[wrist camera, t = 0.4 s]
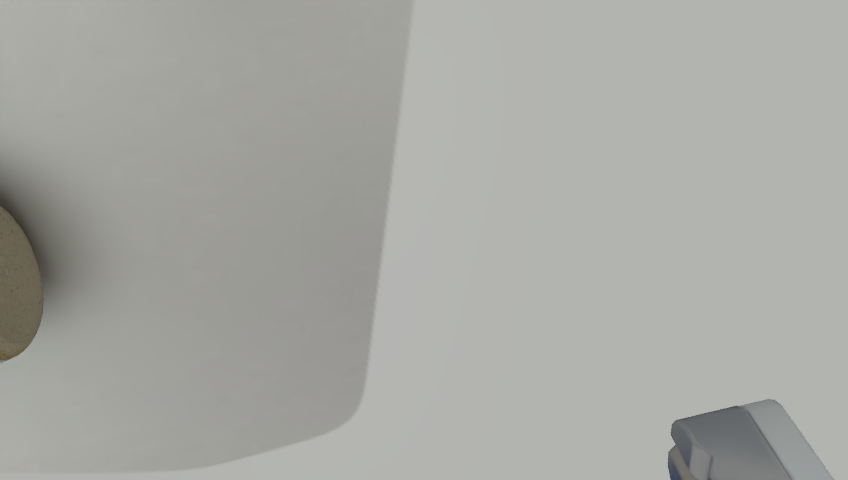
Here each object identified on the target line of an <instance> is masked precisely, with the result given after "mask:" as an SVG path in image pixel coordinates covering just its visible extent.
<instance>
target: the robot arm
mask: <svg viewBox="0 0 848 480" xmlns="http://www.w3.org/2000/svg"><path fill="white" fill-rule="evenodd" d="M671 436H672V438H673V440H674V442H675V444H676V445H675V446H674V447H673V448H672V449H671V450H670V451H669V455H668V468H669V473H670V478H671V480H834V479H833V477H832V476H831V475H830V473H829V472H828V470H827V469H826V467H825V466H824V465H823V463H822V462H821V460H820V459H819V457H818V456H817V455H816V453H815V452H814V450H813V449H812V448H811V446H810V445H809V443H808V442H807V440H806V439H805V438H804V436H803V435H802V433H801V432H800V430H799V429H798V428H797V426H796V425H795V424H794V422H793V421H792V419H791V418H790V416H789V415H788V413H787V412H786V411H785V409H784V408H783V406H782V405H781V404H779V403H778V402H777V401H775V400H771V399H767V400H763V401H759V402H754V403H750V404H745V405H741V406H734V407H729V408H726V409H721V410H717V411H713V412H708V413H704V414H700V415H696V416H692V417H688V418H684V419H679V420H676V421H675V422H674V423H673V424H672V429H671Z"/></svg>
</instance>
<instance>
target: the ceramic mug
mask: <svg viewBox="0 0 848 480" xmlns="http://www.w3.org/2000/svg"><path fill="white" fill-rule="evenodd" d="M42 313H43V290H42V280H41V275H40V271H39V266H38V263H37V260H36V258H35V255H34V252H33V250H32V247H31V244H30V243H29V241H28V239H27V237H26V235H25V233H24V232H23V230H22V229H21V227H20V226H19V224H18V223H17V222H16V220H15V219H14V218H13V217H12V215H11V214H10V213H8V212H7V211H6V210H5V209H4V208H3V207H2V206H0V363H2V362H4V361H7V360H9V359H11V358H13V357H15V356H17V355H18V354H20V353H21V352H23V351H24V350H25V349H26V348H27V347H28V346H29V344H30V343H31V342H32V340H33V338H34V336H35V335H36V333H37V330H38V328H39V326H40V322H41V317H42Z"/></svg>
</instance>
